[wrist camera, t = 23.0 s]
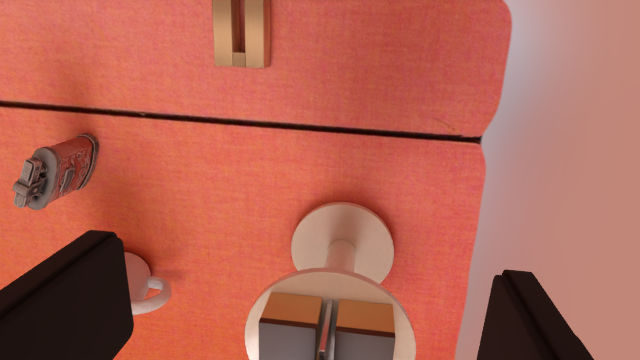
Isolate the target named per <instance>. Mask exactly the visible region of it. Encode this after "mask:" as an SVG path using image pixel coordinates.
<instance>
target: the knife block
mask: <svg viewBox="0 0 640 360" xmlns="http://www.w3.org/2000/svg"><path fill="white" fill-rule="evenodd" d="M244 4H245V52H244V51H241V45H240V0H212V11H213V35H214V58H215V66H229V67H249V68H266V67H270V0H244Z"/></svg>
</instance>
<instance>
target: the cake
mask: <svg viewBox="0 0 640 360" xmlns="http://www.w3.org/2000/svg"><path fill="white" fill-rule="evenodd" d="M321 317H322V297H314V296H305V295H295V294H286V293H277V292H271V293H270V295H269V298H268V300H267V303H266V305H265V308H264V310H263V313H262V315H261V318H260V320H259V322H258V326H259V360H319V353H318V351H319V345H320V337H321ZM395 339H396V337H395V325H394V312H393V305H390V304H381V303H371V302H362V301H353V300H343V299H340V300H339V306H338V314H337V322H336V329H335V344H334V359H333V360H393V355H394V347H395Z"/></svg>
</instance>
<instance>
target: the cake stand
mask: <svg viewBox="0 0 640 360" xmlns="http://www.w3.org/2000/svg"><path fill="white" fill-rule="evenodd" d="M291 253H292V258H293V262H294V264H295V267H296V269H297V270H298V271H296V272H292V273H290V274H288V275H285V276H283V277H281V278H279V279H278V280H276V281H274V282H273V283H272V284H270V285H269V286H268V287H267V288H265V289H264V291H263V292H262V293H261V294H260V295H259V296H258V298H257V299H256V301H255V302H254V304H253V306H252V308H251V310H250V313H249V315H248V317H247V321H246V325H245V346H246V351H247V354H248V357H249V360H259V326H258V322H259V320H260V318H261V315H262V313H263V310H264V308H265V305H266V303H267V300H268V298H269V295H270V293H271V292H277V293H286V294H295V295H305V296H314V297H322V317H321V337H320V344H321V338H322V332H323V326H324V321H325V315H326V309H327V303H328V299H331V300H333V307H332V323H331V340H330V357H329V360H333V359H334V344H335V329H336V322H337V314H338V306H339V300H340V299H343V300H353V301H362V302H371V303H381V304H390V305H393V312H394V325H395V337H396V339H395V347H394V355H393V360H415V356H416V341H415V335H414V330H413V326H412V323H411V321H410V318H409V316H408V314H407V313H406V311H405V309H404V308H403V306H402V305H401V304H400V302H399V301H398V300H397V299H396V298H395V297H394V296H393V295H392V294H391V293H390V292H389V291H388V290H387V289H385V288H384V287H383V286H381V285H380V283H381V282H382V281H383V280H384V279H385V277H386V276H387V275H388V273H389V271H390V269H391V267H392V264H393V260H394V244H393V239H392V236H391V233H390V231H389V229H388V227H387V225H386V224H385V223H384V221H383V220H382V219H381V218H380V217H379V216H378V215H377V214H375V213H374V212H373V211H371V210H370V209H368V208H366V207H364V206H361V205H358V204H355V203H350V202H331V203H326V204H323V205H320V206H318V207H316V208H314V209H313V210H311V211H310V212H308V213H307V214H306V215H305V216H304V217H303V218H302V219H301V221H300V222H299V224H298V225H297V227H296V229H295V232H294V234H293V238H292V243H291ZM319 350H320V345H319ZM318 353H319V351H318Z"/></svg>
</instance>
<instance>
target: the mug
mask: <svg viewBox="0 0 640 360" xmlns="http://www.w3.org/2000/svg"><path fill="white" fill-rule="evenodd" d="M124 254H125V262H126V269H127V277H128V284H129V292H130V300H131V307H132V315H133V316H134V315H136V314H142V313H148V312H150V311H153V310H156V309H158V308H160V307H161V306H163V305H164V304H165V303H166V302H167V301H168V300H169V298H170V296H171V286H170V284H169V282H168V281H167V280H166V279H164V278H161V277H156V276H151V273H150V270H149V267H148V265H147V264H146V262H145V261H144V260H143V259H141V258H140V257H139V256H137V255H135V254H132V253H128V252H124ZM149 287H150V288H156V289H160V290H162V291H161V292H160V293H159V294H157V295H155V296H153V297H151V298H149V299H145V300H144V298H145V296H146V294H147V292H148V290H149Z"/></svg>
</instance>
